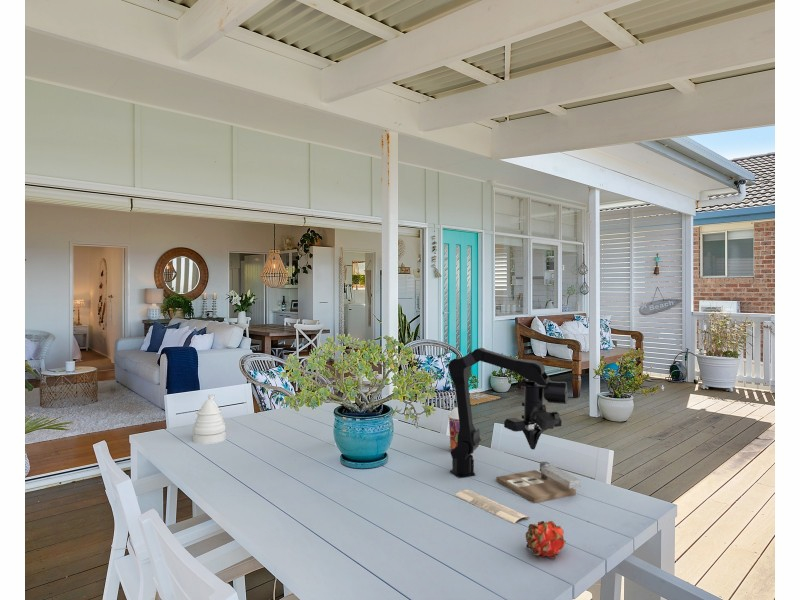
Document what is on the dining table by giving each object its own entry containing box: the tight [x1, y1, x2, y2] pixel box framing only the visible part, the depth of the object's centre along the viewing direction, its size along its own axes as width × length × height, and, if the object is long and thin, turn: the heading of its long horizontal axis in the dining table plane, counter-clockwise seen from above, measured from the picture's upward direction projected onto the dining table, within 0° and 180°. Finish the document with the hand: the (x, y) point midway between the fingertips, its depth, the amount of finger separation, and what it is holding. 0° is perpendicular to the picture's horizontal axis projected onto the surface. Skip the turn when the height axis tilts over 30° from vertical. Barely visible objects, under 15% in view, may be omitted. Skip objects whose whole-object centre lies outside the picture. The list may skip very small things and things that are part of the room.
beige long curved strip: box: [454, 489, 530, 525], centre depth 150 cm, size 24×7×2 cm, turn 36°
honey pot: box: [192, 394, 227, 445], centre depth 216 cm, size 13×13×18 cm
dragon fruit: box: [525, 520, 566, 560], centre depth 124 cm, size 8×8×12 cm
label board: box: [496, 469, 577, 504], centre depth 165 cm, size 16×19×4 cm
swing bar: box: [539, 461, 581, 489], centre depth 163 cm, size 16×4×2 cm, turn 20°
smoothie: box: [448, 406, 460, 451], centre depth 202 cm, size 8×8×20 cm
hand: (532, 449), depth 167 cm, fingers closed
